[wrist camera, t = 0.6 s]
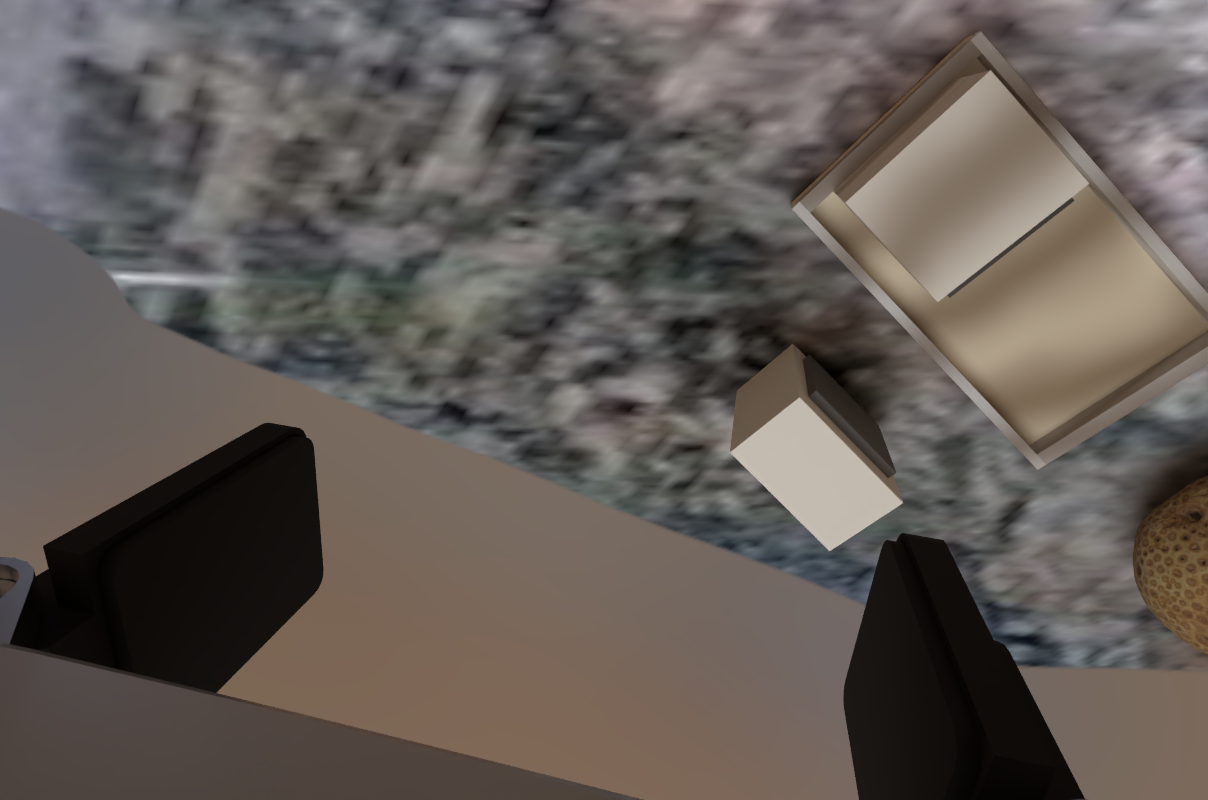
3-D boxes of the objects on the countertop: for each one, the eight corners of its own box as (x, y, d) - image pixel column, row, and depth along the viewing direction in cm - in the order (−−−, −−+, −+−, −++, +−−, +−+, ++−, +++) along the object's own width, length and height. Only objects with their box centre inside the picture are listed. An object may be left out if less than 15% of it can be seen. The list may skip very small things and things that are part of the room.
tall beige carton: (799, 337, 40) (807, 390, 32) (883, 424, 41) (911, 497, 33) (737, 390, 43) (730, 452, 34) (817, 471, 43) (829, 551, 35)
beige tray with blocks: (790, 203, 38) (796, 222, 30) (964, 38, 33) (1024, 11, 26) (1021, 448, 40) (1082, 525, 32) (1214, 324, 35) (1338, 379, 28)
